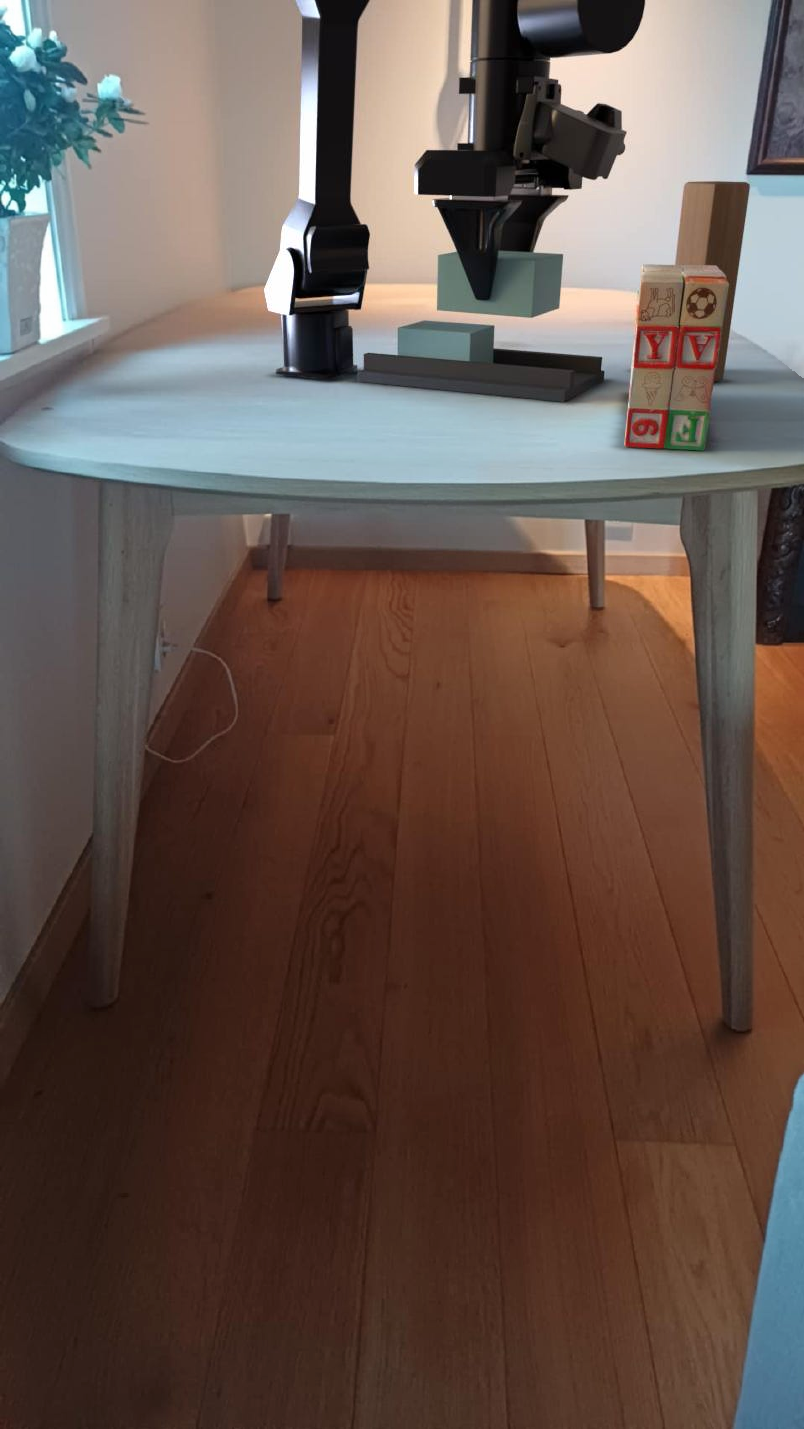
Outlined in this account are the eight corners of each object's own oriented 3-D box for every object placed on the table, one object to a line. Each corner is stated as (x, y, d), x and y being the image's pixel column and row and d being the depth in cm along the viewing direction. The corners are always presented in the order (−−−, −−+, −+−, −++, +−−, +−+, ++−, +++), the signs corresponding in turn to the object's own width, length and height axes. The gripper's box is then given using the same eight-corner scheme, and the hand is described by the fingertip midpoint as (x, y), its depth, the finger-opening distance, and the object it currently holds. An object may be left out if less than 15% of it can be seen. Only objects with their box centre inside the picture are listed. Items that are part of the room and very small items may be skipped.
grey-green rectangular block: (436, 310, 82) (437, 255, 80) (468, 301, 87) (469, 249, 85) (531, 318, 79) (535, 260, 77) (559, 308, 84) (563, 254, 82)
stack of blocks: (627, 393, 100) (641, 254, 95) (694, 396, 99) (713, 255, 94) (623, 447, 82) (640, 277, 76) (706, 451, 81) (730, 279, 75)
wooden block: (633, 370, 111) (652, 180, 103) (666, 367, 113) (688, 180, 105) (689, 385, 104) (715, 182, 96) (724, 381, 106) (752, 182, 98)
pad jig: (357, 381, 106) (356, 329, 104) (411, 363, 115) (411, 315, 113) (564, 402, 97) (568, 345, 95) (604, 380, 106) (608, 328, 104)
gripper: (573, 49, 64) (553, 318, 72) (657, 67, 79) (633, 290, 86) (412, 54, 69) (409, 307, 76) (519, 70, 83) (508, 281, 91)
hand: (498, 295), depth 82 cm, fingers closed on grey-green rectangular block, 6 cm apart
